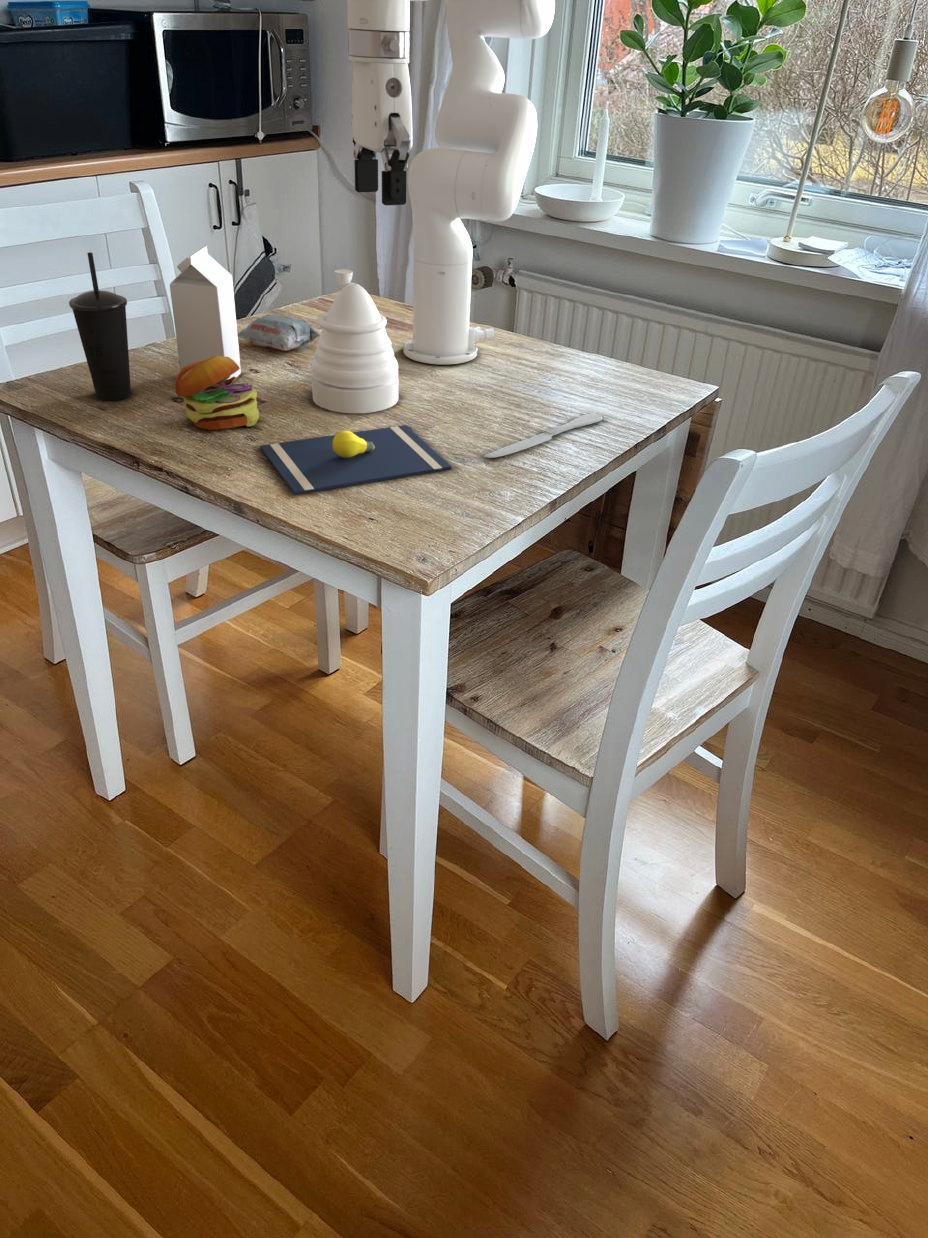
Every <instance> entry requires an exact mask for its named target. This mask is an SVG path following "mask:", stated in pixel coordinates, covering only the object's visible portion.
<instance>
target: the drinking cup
mask: <svg viewBox="0 0 928 1238" xmlns="http://www.w3.org/2000/svg"><path fill="white" fill-rule="evenodd" d="M94 259H95V258H94V253H93V252H90V251H89V252H87V260H88V264H89V270H90V272H89V273H90V277H91V283H92V289H93V290H89V291H85V292H82V293H81V294H78V295H77V296H75V297H72V298H71V299H69V301H68V306H69V308H70V309H71V310H72V313H73V317H74V320H75V323H76V327H77V331H78V334H79V338H80V342H81V345H82V349H83V352H84V356H85V359H86V363H87V366H88V370H89V375H90V377H91V380H92V384H93V388H94V392H95V395H96V397H97V399H98V400H101V401H108V402H110V401H111V402H112V401H115V402H116V401H121V400H125V399H127V398H129V397H131V395H132V387H131V385H132V384H131V370H130V355H129V340H128V323H127V322H128V321H127V308H126V307H127V305H128V299H127V297H125V296H122V295H120V294H116V293H114V292H111V291H107V290H100V289H99V284H98V283H99V282H98V276H97V272H96V271H97V270H96V266H95V260H94Z"/></svg>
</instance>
